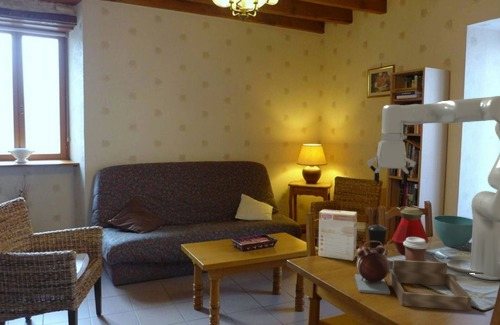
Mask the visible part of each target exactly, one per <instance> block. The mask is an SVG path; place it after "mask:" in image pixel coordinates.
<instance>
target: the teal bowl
mask: <svg viewBox="0 0 500 325" xmlns="http://www.w3.org/2000/svg"><path fill="white" fill-rule="evenodd" d="M433 225H434V229H435V232H436V235H437V237H438V239H439V240H440V241H441V243H443V245H444V246H446V247H449V248H455V249H456V248H458V249H459V248H464V247H465V246H466V245H467V244H468V243H469V242H470V241H472V230H473V218H471V217H470V218H469V217H465V216H460V215H445V214H444V215H443V214H442V215H436V216H433Z"/></svg>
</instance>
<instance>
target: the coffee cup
mask: <svg viewBox="0 0 500 325" xmlns="http://www.w3.org/2000/svg"><path fill="white" fill-rule="evenodd" d="M403 245H404V246H405V255H404V257H405V259H404V260H409V261H425V260H426V253H427V252H426V251H427V249H428V248H429V244H428V242H427V243H426V241H425V240H424V239H422V238H418V237H408V238H406V240H405V241H404V242H403Z"/></svg>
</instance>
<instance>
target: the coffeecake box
mask: <svg viewBox="0 0 500 325" xmlns="http://www.w3.org/2000/svg"><path fill="white" fill-rule="evenodd" d="M318 213H319V214H318V254H317V255H318V257H323V258H332V259H338V260H344V261H354V260H355V258H356V257H357V235H358V234H357V229H358V227H357V225H358V223H357V222H358V219H357V218H358V212H357V211H349V210H336V209H326V208H325V209H322V210H320V211H319V212H318Z"/></svg>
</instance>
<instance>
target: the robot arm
mask: <svg viewBox="0 0 500 325" xmlns="http://www.w3.org/2000/svg"><path fill="white" fill-rule="evenodd" d="M381 113H382V115H381V141H378V144H377V145H378V146H377V150H376V156H375V157H373V158H371V159H369V160H367V165H368V166H369V168H370V170H372V172H374V176H373V178H374V179H373V180H374V182H375V183H376V184H379V183H380V173H379V172H380V171H381V169H395V170H396V169H401V170H402V173H401V174H402V175H401V184H402V185H406V183H407V182H408V174H410V172H411V171H412V170H413V169H414V167H415V165H416V164H417V162H416V161H414V160H412V159H410V158H408V157H407V152H406V150H407V149H406V143H405V141H404V140H407V139H408V135H405V134H404V125H407V126H408V125H409V126H411V125H413V126H414V125H415V126H416V125H417V126H418V125H420V124H458V123H471V122H486V121H495V122H496V124H495V126H494V132H495V134H496V136H497V137H498V139H499V140H500V95H494V96H487V97H485V96H484V97H476V98H475V97H473V98H461V99H450V100H449V99H448V100H445V101H439V102H433V103H424V104H421V103H419V104H418V103H413V104H405V105H402V104H401V105H400V104H387V105H383V107H382V110H381ZM375 162H376V167H374V164H373V163H375ZM407 163H409V165H408V167H406V166H407ZM492 166H493V167H492V168H491V170H490V172H489V174H488V176H487V184H488V185H489V186H490V187H491V188H493V189H494V190H495V191H496V192H494V191H490V190H489V191H487V190H484V191H480V192H478V193H476V194H475V195H474V196H473V198H472V200H471V203H470V204H471V214H472V219H473V230H472V238H471V248H470V249H471V250H470V263H469V265H468V266H466V267H469V266H470V269H471V270H474V271H479V272H483V273H484V274H475V273H469V274H468V275H470V276H472V277H475V278H478V279H482V280H487V281H488V280H489V281H499V280H500V153H499V154H498V156H497V158H496V160H495V162H494V165H492Z"/></svg>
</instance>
